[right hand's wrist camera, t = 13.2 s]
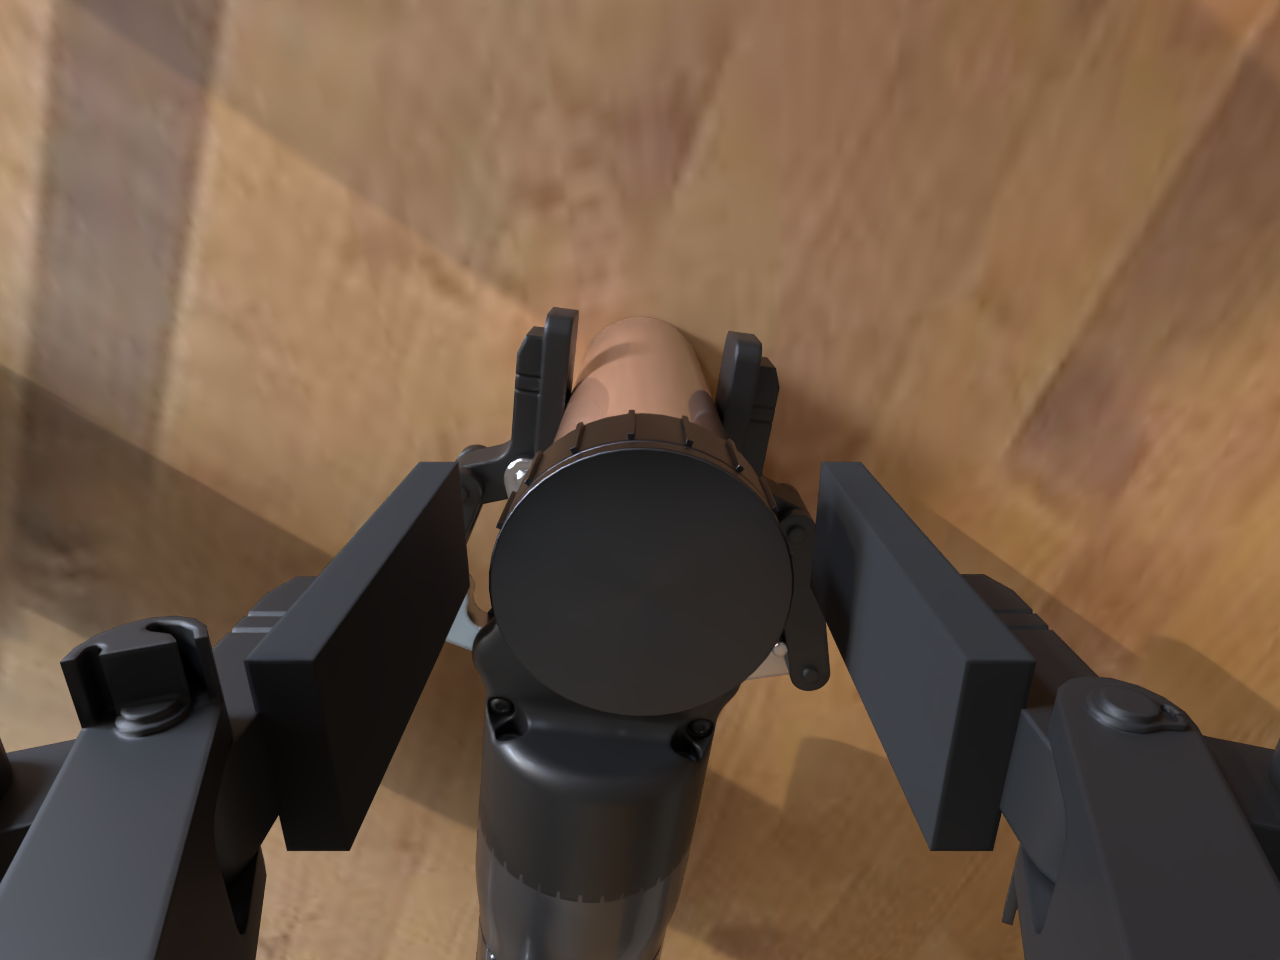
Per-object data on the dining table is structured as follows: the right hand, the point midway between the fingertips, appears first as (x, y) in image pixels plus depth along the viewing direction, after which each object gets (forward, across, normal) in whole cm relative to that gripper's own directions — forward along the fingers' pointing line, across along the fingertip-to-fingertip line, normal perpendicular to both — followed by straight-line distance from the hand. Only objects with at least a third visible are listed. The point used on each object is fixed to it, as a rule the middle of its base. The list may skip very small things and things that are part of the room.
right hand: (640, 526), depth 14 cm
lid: (-3, 0, 0) cm, 3 cm away
